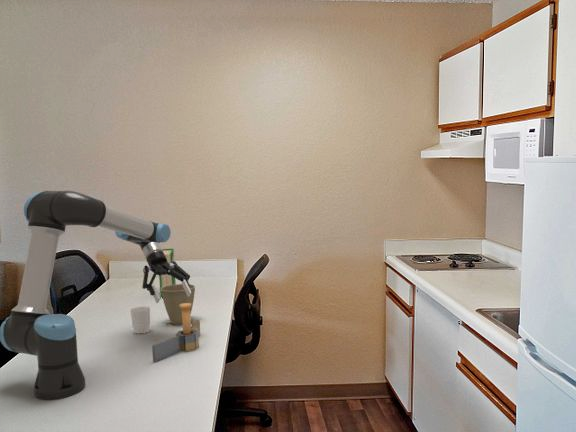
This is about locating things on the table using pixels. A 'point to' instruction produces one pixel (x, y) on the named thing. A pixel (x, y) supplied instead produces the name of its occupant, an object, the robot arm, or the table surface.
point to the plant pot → (176, 301)
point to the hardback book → (168, 279)
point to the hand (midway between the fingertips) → (174, 297)
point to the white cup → (140, 319)
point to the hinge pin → (186, 318)
